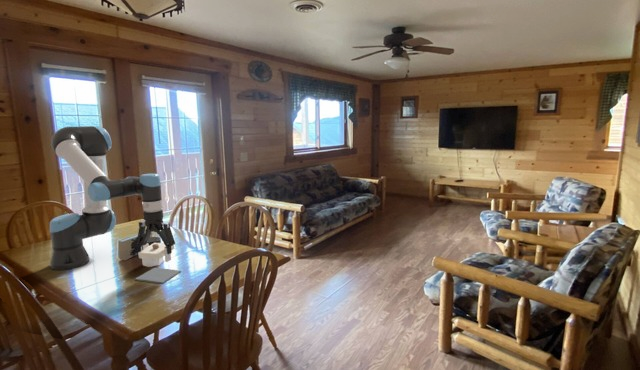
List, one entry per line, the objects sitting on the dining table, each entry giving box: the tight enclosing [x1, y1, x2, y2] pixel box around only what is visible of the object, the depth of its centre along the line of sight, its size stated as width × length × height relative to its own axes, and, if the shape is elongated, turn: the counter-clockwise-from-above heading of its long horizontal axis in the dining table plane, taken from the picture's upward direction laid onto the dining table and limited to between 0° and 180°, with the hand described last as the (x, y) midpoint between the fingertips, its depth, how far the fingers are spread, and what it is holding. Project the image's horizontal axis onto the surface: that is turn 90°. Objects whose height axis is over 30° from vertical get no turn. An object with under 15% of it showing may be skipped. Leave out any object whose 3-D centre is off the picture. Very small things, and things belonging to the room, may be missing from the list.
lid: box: [137, 242, 175, 259], centre depth 150 cm, size 10×10×4 cm
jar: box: [140, 236, 164, 268], centre depth 164 cm, size 9×8×12 cm
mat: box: [134, 267, 182, 285], centre depth 152 cm, size 14×12×1 cm
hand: (157, 259), depth 151 cm, fingers closed on lid, 10 cm apart
